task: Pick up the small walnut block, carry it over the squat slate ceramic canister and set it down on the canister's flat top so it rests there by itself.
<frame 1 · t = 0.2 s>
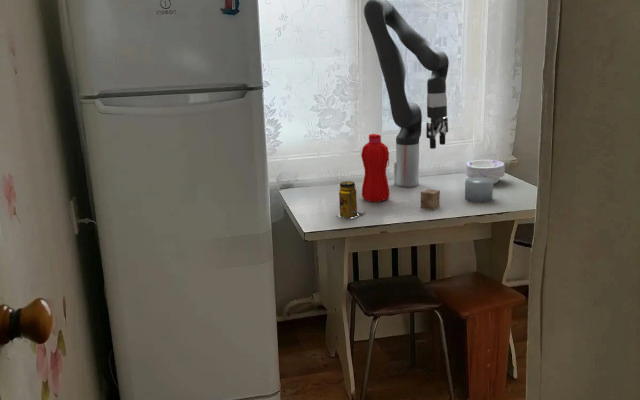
hand: (437, 146, 236), 17 cm above the table, tool pointing down, fingers open, 8 cm apart
walnut block: (430, 207, 218), on the table
paper bowls: (484, 182, 248), on the table
condiment: (350, 215, 212), on the table
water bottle: (377, 199, 230), on the table
slate canister: (478, 198, 225), on the table
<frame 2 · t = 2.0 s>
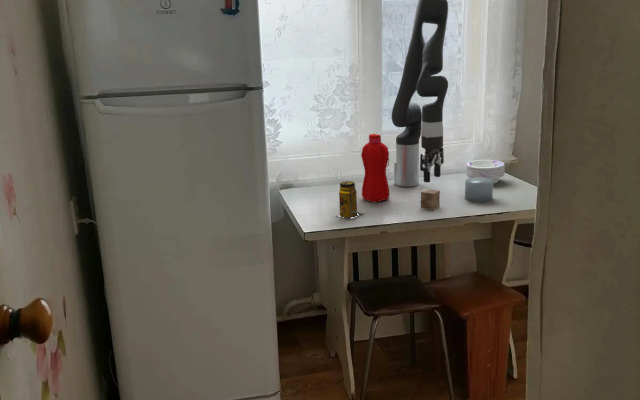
hand: (432, 179, 215), 10 cm above the table, tool pointing down, fingers open, 8 cm apart
nothing on the table moved.
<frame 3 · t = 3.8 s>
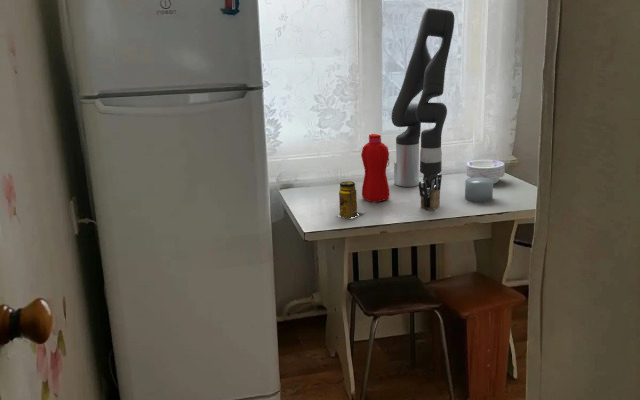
hand: (430, 205, 218), 1 cm above the table, tool pointing down, fingers closed on walnut block, 5 cm apart
walnut block: (430, 207, 218), on the table, touching gripper
everything else where it was.
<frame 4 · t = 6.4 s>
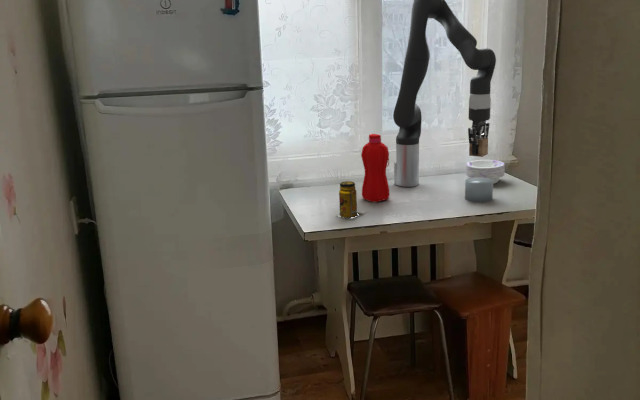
hand: (478, 153, 220), 18 cm above the table, tool pointing down, fingers closed on walnut block, 5 cm apart
walnut block: (478, 154, 220), point 17 cm above the table, touching gripper
everything else where it was.
when the fingers open (9 cm above the table, at t = 9.0 s): walnut block drops 1 cm, resting on slate canister.
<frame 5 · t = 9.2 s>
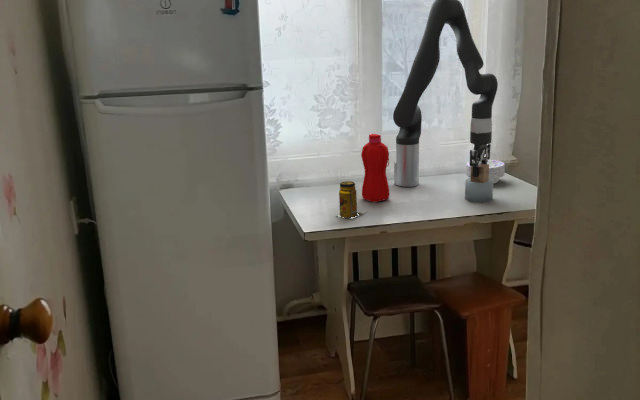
hand: (479, 174, 223), 9 cm above the table, tool pointing down, fingers open, 7 cm apart
walnut block: (479, 180, 223), point 7 cm above the table, touching slate canister
slate canister: (478, 198, 225), on the table, touching walnut block
everything else where it was.
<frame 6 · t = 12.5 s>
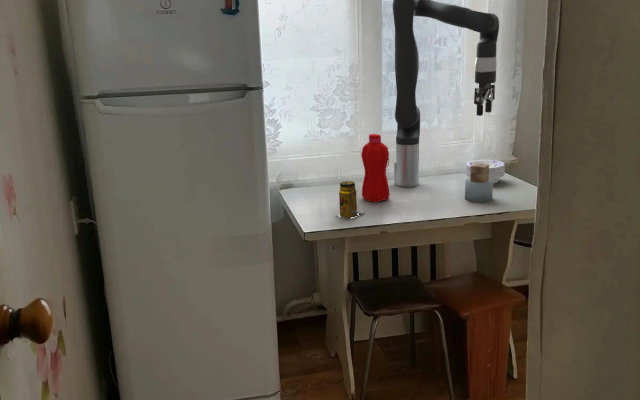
hand: (484, 113, 226), 30 cm above the table, tool pointing down, fingers open, 8 cm apart
nothing on the table moved.
at the end: walnut block inside the target area on the slate canister (0.1 cm from its centre), point 7.0 cm above the slate canister's base; walnut block tilted 0°; the gripper is holding nothing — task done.
